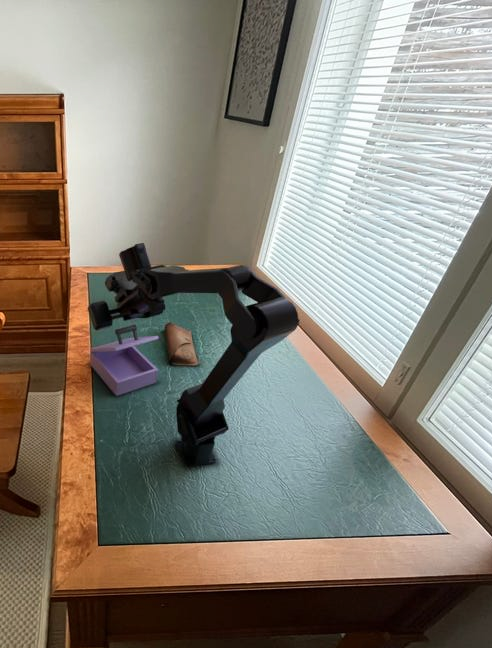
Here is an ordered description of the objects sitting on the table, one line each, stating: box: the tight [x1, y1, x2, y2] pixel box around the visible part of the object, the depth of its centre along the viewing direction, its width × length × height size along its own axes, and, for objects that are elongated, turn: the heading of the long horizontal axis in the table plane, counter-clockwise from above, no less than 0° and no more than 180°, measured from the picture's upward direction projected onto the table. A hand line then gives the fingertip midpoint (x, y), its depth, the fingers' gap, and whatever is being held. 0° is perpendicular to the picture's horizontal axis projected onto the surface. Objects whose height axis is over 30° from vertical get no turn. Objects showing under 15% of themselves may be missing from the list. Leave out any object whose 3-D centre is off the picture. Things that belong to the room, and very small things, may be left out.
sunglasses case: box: [164, 321, 199, 367], centre depth 112 cm, size 18×7×7 cm, turn 177°
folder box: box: [89, 346, 159, 397], centre depth 101 cm, size 15×12×4 cm
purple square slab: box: [89, 324, 160, 352], centre depth 98 cm, size 15×12×5 cm
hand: (113, 319), depth 99 cm, fingers open, 9 cm apart
